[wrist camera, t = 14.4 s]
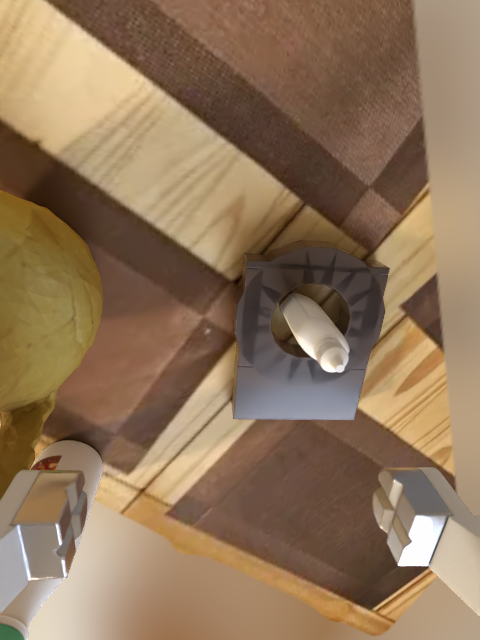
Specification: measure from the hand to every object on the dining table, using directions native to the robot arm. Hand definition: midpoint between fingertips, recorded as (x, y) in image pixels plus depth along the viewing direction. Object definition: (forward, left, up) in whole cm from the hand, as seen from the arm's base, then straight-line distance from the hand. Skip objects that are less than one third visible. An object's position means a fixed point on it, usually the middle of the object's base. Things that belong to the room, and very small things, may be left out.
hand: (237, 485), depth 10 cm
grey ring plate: (+9, +10, -29) cm, 32 cm away
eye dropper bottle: (+6, +10, -29) cm, 32 cm away
